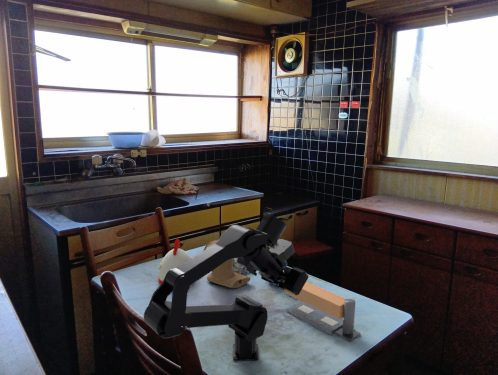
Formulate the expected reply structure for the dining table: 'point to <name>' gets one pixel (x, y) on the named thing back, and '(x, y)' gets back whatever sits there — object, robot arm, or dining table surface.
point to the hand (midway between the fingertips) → (290, 286)
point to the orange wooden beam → (328, 304)
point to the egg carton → (238, 267)
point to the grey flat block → (347, 335)
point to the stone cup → (227, 275)
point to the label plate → (316, 317)
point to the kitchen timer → (172, 260)
